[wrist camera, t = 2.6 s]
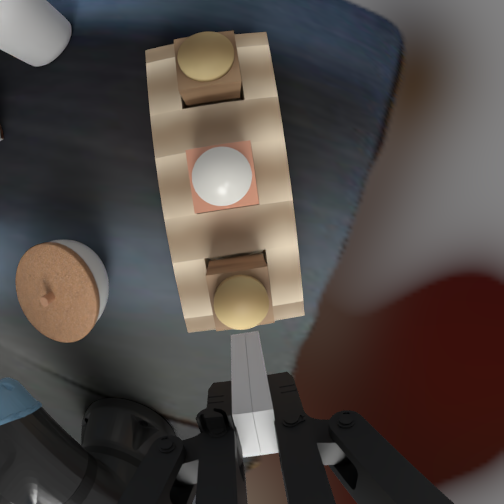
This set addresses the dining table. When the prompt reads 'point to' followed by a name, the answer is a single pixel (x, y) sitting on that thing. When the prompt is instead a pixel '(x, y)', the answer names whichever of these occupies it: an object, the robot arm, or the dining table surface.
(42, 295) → the lidded jar
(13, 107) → the dining table surface
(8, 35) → the milk bottle
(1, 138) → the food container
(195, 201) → the middle button
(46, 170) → the dining table surface
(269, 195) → the button mount
